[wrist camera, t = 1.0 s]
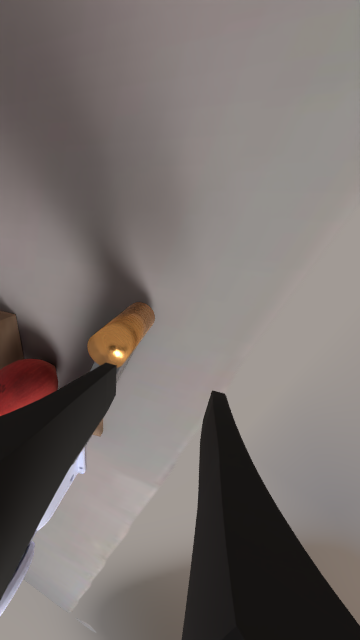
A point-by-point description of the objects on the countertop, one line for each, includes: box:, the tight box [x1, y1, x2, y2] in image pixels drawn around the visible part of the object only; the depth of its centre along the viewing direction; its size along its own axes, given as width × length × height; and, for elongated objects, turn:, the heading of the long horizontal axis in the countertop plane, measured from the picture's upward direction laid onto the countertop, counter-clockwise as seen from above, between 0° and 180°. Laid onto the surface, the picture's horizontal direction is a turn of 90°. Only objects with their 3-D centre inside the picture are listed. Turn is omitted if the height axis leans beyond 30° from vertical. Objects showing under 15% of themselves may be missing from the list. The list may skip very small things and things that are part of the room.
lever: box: [72, 302, 155, 465], centre depth 19 cm, size 21×3×6 cm, turn 150°
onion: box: [0, 359, 58, 416], centre depth 21 cm, size 6×6×8 cm
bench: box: [0, 311, 103, 436], centre depth 22 cm, size 15×13×6 cm
